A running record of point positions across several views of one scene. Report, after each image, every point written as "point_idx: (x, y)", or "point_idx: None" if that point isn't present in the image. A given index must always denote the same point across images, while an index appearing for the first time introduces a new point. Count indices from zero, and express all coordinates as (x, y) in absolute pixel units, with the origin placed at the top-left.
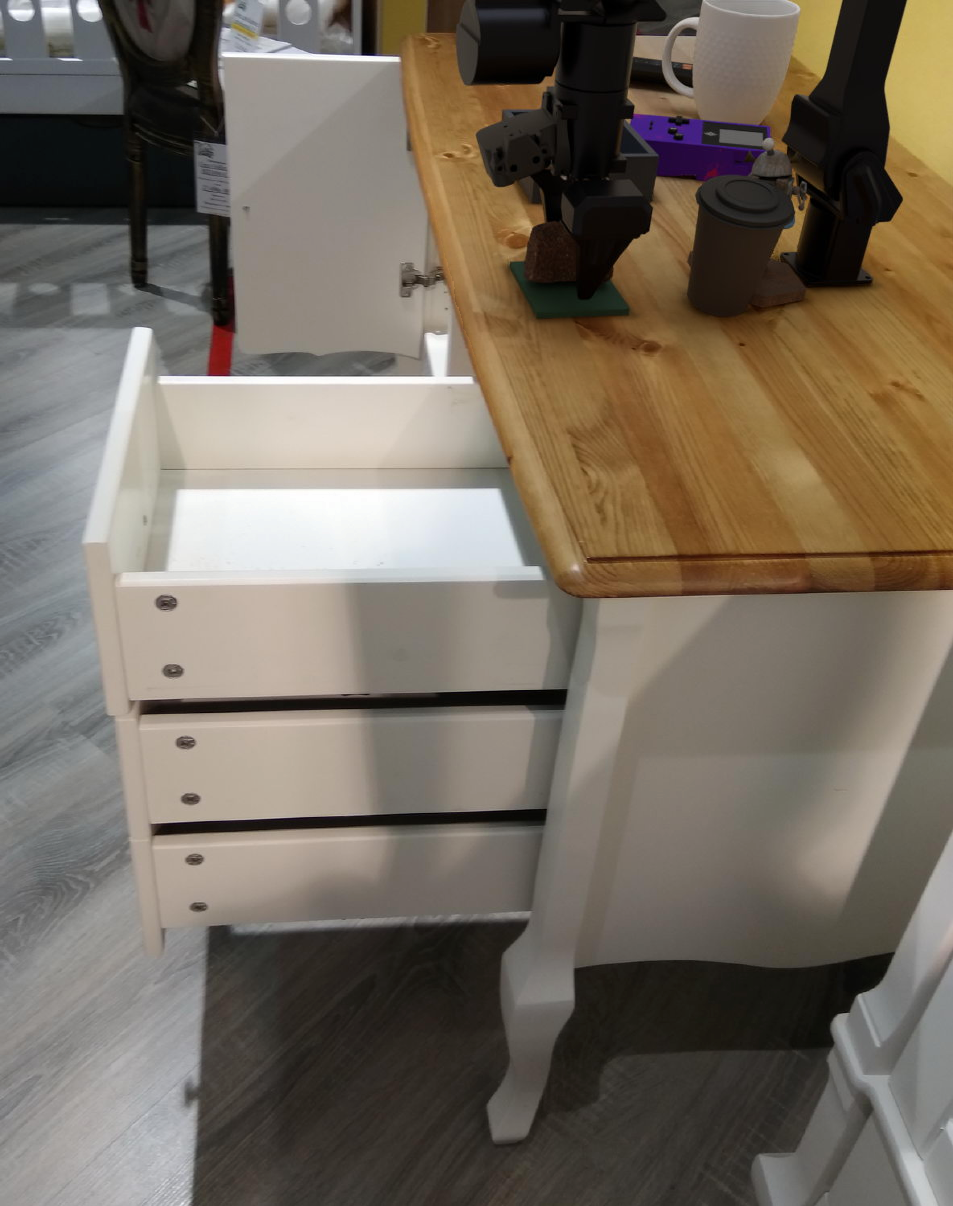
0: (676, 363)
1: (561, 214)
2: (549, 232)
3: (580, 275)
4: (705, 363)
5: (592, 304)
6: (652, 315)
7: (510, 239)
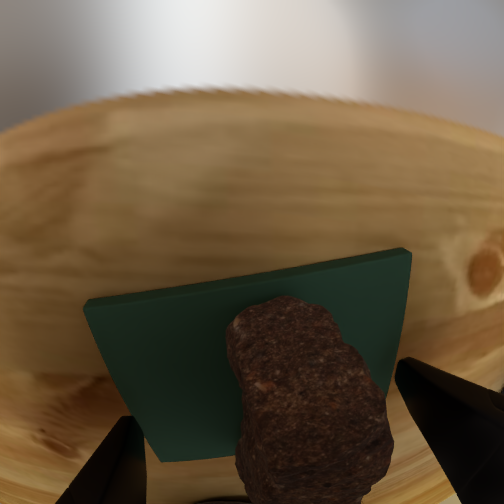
0: (33, 455)
1: (453, 434)
2: (313, 474)
3: (83, 469)
4: (51, 475)
5: (161, 422)
6: (171, 471)
7: (494, 258)
